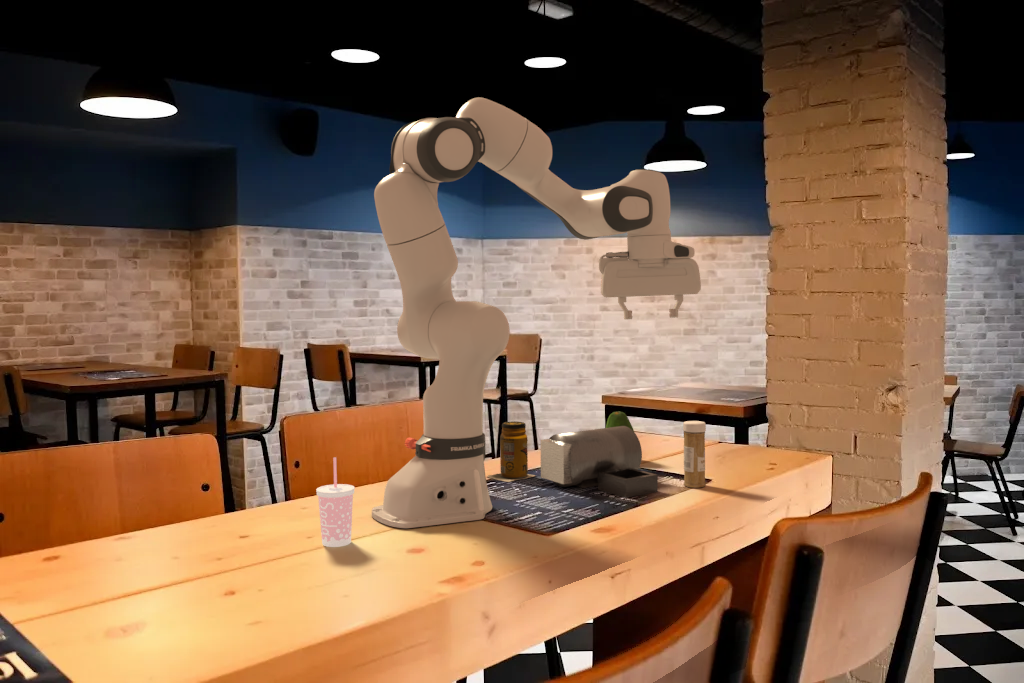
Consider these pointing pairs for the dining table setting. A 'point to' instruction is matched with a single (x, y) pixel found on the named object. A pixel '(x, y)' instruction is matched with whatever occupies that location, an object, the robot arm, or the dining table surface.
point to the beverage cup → (335, 512)
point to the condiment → (513, 453)
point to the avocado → (618, 420)
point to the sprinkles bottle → (694, 453)
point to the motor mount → (597, 461)
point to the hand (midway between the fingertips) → (651, 318)
